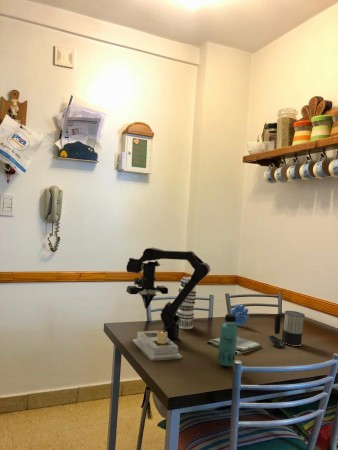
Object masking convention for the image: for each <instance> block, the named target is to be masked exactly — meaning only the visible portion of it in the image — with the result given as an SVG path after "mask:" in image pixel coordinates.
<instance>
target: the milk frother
mask: <svg viewBox="0 0 338 450" xmlns="http://www.w3.org/2000/svg"><path fill="white" fill-rule="evenodd" d="M305 316H306V315H305V313H303V312H300V311H294V310H285V311H284V312H279V313H277V314H276V315H275V317H274V334H275V335H280V333H281V334H282V335H281V339H279V338H278V337H277V336H274V335H269V336H268V339H269V341H270V342H271V343H272V344H273V345H275V347H276V346H277V347H280V348H283V347H284V346H285V344H283V342H284V343H287V344H290V345H300V344H302V338H303V331H304V330H303V327H304V321H305ZM282 318H283V322H282V323H283V325H282V332H281V319H282ZM281 341H282V342H281ZM282 346H283V347H282Z"/></svg>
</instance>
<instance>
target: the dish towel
mask: <svg viewBox="0 0 338 450" xmlns="http://www.w3.org/2000/svg"><path fill="white" fill-rule="evenodd" d="M219 343H220V337H217V338H214V339H210V340H207V341H206V344H208V345H211V346H213V347H215V348H218V349H219V345H220V344H219ZM259 347H261V348H262V344H260V343H258V342H255V341H253V340H250V339H246V338H242V337H239V336H237V339H236V350H235V352H236V354H235V355H236V356H241V355H243V353H244V354H246V353H249V352H252V351H255V350H258V349H257V348H259ZM254 349H255V350H254ZM259 349H260V348H259Z"/></svg>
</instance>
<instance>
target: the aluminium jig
mask: <svg viewBox="0 0 338 450" xmlns="http://www.w3.org/2000/svg"><path fill="white" fill-rule="evenodd" d="M158 331H159V330H147V331H146V330H145V331H137V335H136V338H133V339H132V342H133V344H134V345H135V346H136V347H137V348H138V349H139V350H140V351H141V352H142V353H143V354H144V356H146V357H147V359H149V360H150V361H151V362H156V361H167V360H178V359H179V360H180V359H182V358H183V355H182V354H180V353H179V346H178V345H177V344H176V343H174V341H173V340H170V339H168V338H167V345H163V346H158V345H157V333H158Z"/></svg>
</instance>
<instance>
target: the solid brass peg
mask: <svg viewBox="0 0 338 450" xmlns="http://www.w3.org/2000/svg"><path fill="white" fill-rule="evenodd" d="M157 331H158V333H157V345H158V346H163V345H167V333H168V332H167V331H164V330H163V329H162V330H161V329H160V330H157Z"/></svg>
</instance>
